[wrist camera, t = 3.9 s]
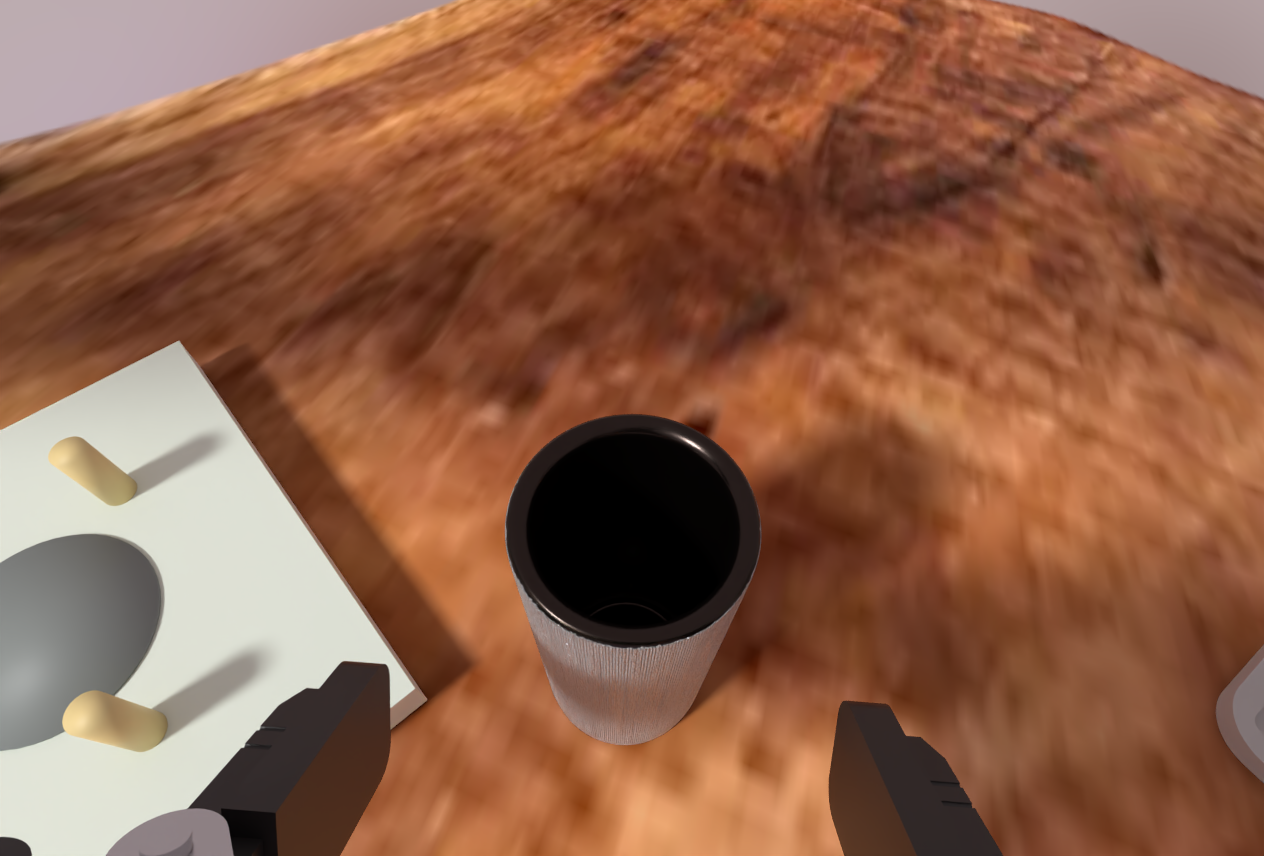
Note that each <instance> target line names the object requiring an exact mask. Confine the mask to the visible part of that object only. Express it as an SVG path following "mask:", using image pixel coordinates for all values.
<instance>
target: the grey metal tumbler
mask: <svg viewBox="0 0 1264 856" xmlns="http://www.w3.org/2000/svg"><path fill="white" fill-rule="evenodd" d="M505 541H506V549H507V554H508V558H509V562H510V566H511V569H512V572H513V575H514V578H515V581H516V584H517V587H518V590H519V593H520V596H521V599H522V602H523V605H524V608H525V611H526V614H527V617H528V620H529V623H530V626H531V629H532V632H533V635H534V638H535V641H536V644H537V647H538V650H539V653H540V656H541V659H542V662H543V665H544V667H545V670H546V673H547V676H548V679H549V682H550V685H551V688H552V691H553V694H554V696H555V698H556V700H557V702H558V704H559V706H560V707H561V709H562V710H563V712H564V713H565V715H566V716H567V717H568V718H569V720H570V721H571V722H572V723H573V724H574V725H575V726H576V727H578V728H579V729H580V730H581V731H583V732H584V733H586V734H587V735H589V736H591V737H593V738H595V739H597V740H600V741H603V742H606V743H611V744H617V745H633V744H640V743H644V742H647V741H650V740H653V739H655V738H657V737H659V736H661V735H663V734H664V733H666V732H668V731H669V730H670V729H671V728H673V727H674V726H675V725H676V724H677V723H678V722H679V721H680V720H681V719H682V717H683V716H684V715H685V714H686V713H687V711H688V710H689V708H690V707H691V705H692V703H693V702H694V700H695V698H696V696H697V694H698V691H699V689H700V687H701V685H702V683H703V681H704V679H705V677H706V675H707V673H708V670H709V668H710V666H711V664H712V662H713V660H714V658H715V656H716V654H717V652H718V649H719V647H720V645H721V643H722V641H723V639H724V637H725V635H726V633H727V630H728V628H729V626H730V624H731V622H732V620H733V618H734V616H735V614H736V612H737V609H738V607H739V605H740V603H741V601H742V599H743V597H744V595H745V593H746V590H747V588H748V586H749V584H750V582H751V579H752V577H753V574H754V572H755V569H756V566H757V562H758V558H759V553H760V548H761V520H760V514H759V509H758V505H757V502H756V499H755V496H754V493H753V491H752V489H751V486H750V484H749V482H748V480H747V479H746V477H745V475H744V474H743V472H742V470H741V469H740V468H739V466H738V465H737V464H736V462H735V461H734V460H733V459H732V458H731V457H730V455H729V454H728V453H727V452H726V451H725V450H724V449H722V448H721V447H720V446H719V445H718V444H717V443H715V442H714V441H713V440H711V439H710V438H708V437H707V436H705V435H704V434H702V433H701V432H699V431H697V430H695V429H693V428H691V427H689V426H687V425H684V424H682V423H679V422H676V421H673V420H670V419H667V418H662V417H658V416H651V415H642V414H621V415H612V416H606V417H601V418H597V419H594V420H590V421H587V422H585V423H582V424H579V425H577V426H575V427H573V428H571V429H569V430H567V431H565V432H563V433H562V434H560V435H559V436H557V437H556V438H554V439H553V440H552V441H550V442H549V443H548V444H546V445H545V446H544V447H543V448H542V449H541V450H540V451H539V452H538V453H537V454H536V455H535V456H534V457H533V458H532V460H531V461H530V462H529V463H528V465H527V466H526V467H525V469H524V470H523V472H522V474H521V475H520V477H519V479H518V481H517V483H516V485H515V487H514V489H513V492H512V494H511V497H510V500H509V504H508V508H507V513H506V521H505Z"/></svg>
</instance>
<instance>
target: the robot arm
mask: <svg viewBox="0 0 1264 856" xmlns="http://www.w3.org/2000/svg"><path fill="white" fill-rule="evenodd" d="M390 743H391V727H390V673H389V668H388V666H387V665H386V664H379V663H366V662H353V661H343V662H341V663H340V664H339V665H338V666H337V667H336V669H335V670H334V671H333V672H332V673H331V675H330V676H329V677H328V678H327V680H326V681H325V682H324V683H323V684H322V686H321V687H320V688H319V689H315V688H306V689H304V690H302V691H301V692H299V693H297V694H296V695H294V696H293V697H291V698H289V699H288V700H286V701H284V702H283V703H281V704H280V705H278V707H277V708H276V709H275V710H274V711H273V712H272V713H271V714H270V716H269V717H268V718H267V719H266V720H265V721H264V722H263V724H262V725H261V726H260V730H256V731H255V733H254V734H253V735H252V736H251V737H250V738H249V739H248V740H247V742H246V743H245V746H244V748H240V750H239V751H238V752H237V753H236V754H235V755H234V756H233V757H232V759H231V760H230V761H229V762H228V763H227V764H226V765H225V767H224V768H223V769H222V770H221V771H220V772H219V773H218V774H217V776H216V777H215V778H214V779H213V780H212V781H211V782H210V784H209V785H208V786H207V787H206V788H205V789H204V790H203V791H202V793H201V794H200V795H199V796H198V797H197V798H196V799H195V801H194V802H193V803H192V804H191V805H190V806H189V807H188V808H187V809H183V810H177V811H173V812H169V813H166V814H163V815H160V816H157V817H155V818H153V819H150V820H148V821H146V822H144V823H142V824H141V825H139V826H137V827H135V828H134V829H132V830H131V831H130V832H128V833H127V834H125V835H124V836H123V837H122V838H121V839H119V840H118V841H117V842H116V843H115V844H114V845H113V846H112V848H111V849H110V850H109V851H108V853H107V854H106V856H340V855H341V853H342V851H343V849H344V847H345V846H346V844H347V842H348V840H349V838H350V836H351V835H352V833H353V831H354V829H355V827H356V826H357V824H358V822H359V820H360V818H361V816H362V815H363V813H364V811H365V809H366V807H367V805H368V804H369V802H370V800H371V798H372V796H373V794H374V793H375V791H376V789H377V787H378V785H379V783H380V782H381V780H382V777H383V775H384V772H385V769H386V766H387V762H388V758H389V752H390ZM829 803H830V810H831V815H832V819H833V822H834V825H835V828H836V831H837V834H838V837H839V840H840V844H841V847H842V850H843V853H844V856H1003V855H1002V853H1001V851H1000V850H999V848H998V846H997V845H996V843H995V841H994V840H993V838H992V836H991V835H990V833H989V831H988V830H987V828H986V826H985V825H984V823H983V821H982V820H981V818H980V816H979V815H978V813H977V811H976V810H975V808H972V803H971V801H970V799H969V798H968V796H967V794H966V793H965V791H964V789H963V788H960V783H959V781H958V779H957V778H956V776H955V774H954V773H953V771H952V769H951V768H950V766H949V764H948V763H947V761H946V759H945V758H944V757H943V756H941V755H940V754H939V753H938V752H937V751H936V750H935V749H933V748H932V747H931V746H930V745H929V744H928V743H927V742H925V741H924V740H923V739H922V738H921V737H912V736H905V734H904V732H903V730H902V728H901V726H900V724H899V723H898V721H897V719H896V717H895V715H894V713H893V712H892V710H891V708H890V707H889V706H888V705H887V704H881V703H868V702H855V701H843V702H842V703H841V705H840V708H839V712H838V719H837V726H836V733H835V740H834V747H833V754H832V761H831V768H830V775H829ZM0 856H32V852H31V848H30V847H29V846H28V844H27V843H25V842H24V841H22V840H20V839H17V838H12V837H0Z"/></svg>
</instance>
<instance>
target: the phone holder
mask: <svg viewBox="0 0 1264 856" xmlns="http://www.w3.org/2000/svg"><path fill="white" fill-rule="evenodd" d="M1216 719H1217V724H1218V727H1219V730H1220V732H1221V735H1222V737H1223V739H1224V741H1225V742H1226V744H1227V746H1228V747H1229V748H1230V750H1231V751H1232V753H1233V754H1234V755H1235V756H1236V757H1237V758H1238V759H1239V760H1240V761H1241V763H1242V764H1244V765H1245V766H1246V767H1247V768H1248V769H1249V770H1250V771H1251V772H1252V773H1253V774H1254V775H1255V776H1256V777H1257V778H1258V779H1259V780H1261V781H1262V782H1263V783H1264V645H1263V646H1262V647H1261V648H1260V649H1259V650H1258V651H1257V653H1256V654H1255V655H1254V656H1253V657H1252V658H1251V659H1250V661H1249V662H1248V663H1247V664H1246V665H1245V666H1244V667H1243V669H1242V670H1241V671H1240V672H1239V673H1238V674H1237V675H1236V677H1235V678H1234V679H1233V680H1232V681H1231V682H1230V683H1229V684H1228V686H1227V687H1226V688H1225V689H1224V690H1223V691H1222V693H1221V694H1220V696H1219V698H1218V700H1217V704H1216Z"/></svg>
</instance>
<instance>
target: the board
mask: <svg viewBox="0 0 1264 856" xmlns="http://www.w3.org/2000/svg"><path fill="white" fill-rule="evenodd" d="M343 661H353V662H366V663H379V664H386V665H387V666H388V668H389V673H390V727H391V729H392V728H393V727H395V726H396V725H397V724H398V723H400V722H401V721H402V720H403V719H405V718H406V717H407V716H408V715H410V714H411V713H412V712H413V711H415V710H416V709H417V708H418V707H420V706H421V705H422V704H423V703H425V702H426V701H427V698H426V697H425V695H424V694H423V692H422V691H421V689H420V688H419V687H418V685H417V684H416V682H415V681H414V679H413V678H412V676H411V675H410V673H409V672H408V670H407V669H406V667H405V666H404V665H403V663H402V662H401V660H400V659H399V657H398V656H397V654H396V653H395V651H394V650H393V648H392V647H391V646H390V644H389V643H388V641H387V640H386V638H385V637H384V635H383V634H382V632H381V631H380V629H379V628H378V626H377V625H376V624H375V622H374V621H373V619H372V618H371V616H370V615H369V613H368V612H367V610H366V609H365V607H364V606H363V605H362V603H361V602H360V600H359V599H358V597H357V596H356V594H355V593H354V591H353V590H352V588H351V587H350V585H349V584H348V583H347V581H346V580H345V578H344V577H343V575H342V574H341V572H340V571H339V569H338V568H337V566H336V565H335V563H334V562H333V561H332V559H331V558H330V556H329V555H328V553H327V552H326V550H325V549H324V547H323V546H322V544H321V543H320V542H319V540H318V539H317V537H316V536H315V534H314V533H313V531H312V530H311V528H310V527H309V525H308V524H307V522H306V521H305V520H304V518H303V517H302V515H301V514H300V512H299V511H298V509H297V508H296V506H295V505H294V503H293V502H292V501H291V499H290V498H289V496H288V495H287V493H286V492H285V490H284V489H283V487H282V486H281V484H280V483H279V481H278V480H277V479H276V477H275V476H274V474H273V473H272V471H271V470H270V468H269V467H268V465H267V464H266V462H265V461H264V459H263V458H262V457H261V455H260V454H259V452H258V451H257V449H256V448H255V446H254V445H253V443H252V442H251V440H250V439H249V438H248V436H247V435H246V433H245V432H244V430H243V429H242V427H241V426H240V424H239V423H238V421H237V420H236V418H235V417H234V416H233V414H232V413H231V411H230V410H229V408H228V407H227V405H226V404H225V402H224V401H223V399H222V398H221V397H220V395H219V394H218V392H217V391H216V389H215V388H214V386H213V385H212V383H211V382H210V380H209V379H208V377H207V376H206V375H205V373H204V372H203V370H202V369H201V367H200V366H199V365H198V363H197V362H196V361H195V360H194V358H193V357H192V356H191V355H190V354H189V352H188V351H187V350H186V349H185V347H184V346H183V345H182V344H181V343H180V341H177V342H175V343H173V344H171V345H169V346H167V347H165V348H163V349H161V350H159V351H157V352H155V353H153V354H151V355H149V356H147V357H145V358H143V359H141V360H139V361H137V362H135V363H133V364H131V365H129V366H127V367H125V368H123V369H121V370H119V371H117V372H116V373H114V374H112V375H110V376H108V377H106V378H104V379H102V380H100V381H98V382H96V383H94V384H92V385H90V386H88V387H86V388H84V389H82V390H80V391H78V392H76V393H74V394H72V395H70V396H68V397H66V398H64V399H62V400H60V401H58V402H56V403H54V404H52V405H50V406H48V407H46V408H44V409H42V410H40V411H38V412H36V413H34V414H32V415H30V416H28V417H26V418H24V419H22V420H20V421H18V422H16V423H14V424H12V425H10V426H8V427H6V428H4V429H2V430H0V837H12V838H17V839H20V840H22V841H24V842H25V843H27V844H28V846H29V847H30V848H31V852H32V856H106V854H107V853H108V851H109V850H110V849H111V848H112V846H113V845H114V844H115V843H116V842H117V841H118V840H119V839H121V838H122V837H123V836H124V835H125V834H127V833H128V832H130V831H131V830H132V829H134V828H135V827H137V826H139V825H141V824H142V823H144V822H146V821H148V820H150V819H153V818H155V817H157V816H160V815H163V814H166V813H169V812H173V811H177V810H183V809H187V808H188V807H189V806H190V805H191V804H192V803H193V802H194V801H195V799H196V798H197V797H198V796H199V795H200V794H201V793H202V791H203V790H204V789H205V788H206V787H207V786H208V785H209V784H210V782H211V781H212V780H213V779H214V778H215V777H216V776H217V774H218V773H219V772H220V771H221V770H222V769H223V768H224V767H225V765H226V764H227V763H228V762H229V761H230V760H231V759H232V757H233V756H234V755H235V754H236V753H237V752H238V751H239V750H240V748H244V746H245V743H246V742H247V740H248V739H249V738H250V737H251V736H252V735H253V734H254V733H255V731H256V730H260V726H261V725H262V724H263V722H264V721H265V720H266V719H267V718H268V717H269V716H270V714H271V713H272V712H273V711H274V710H275V709H276V708H277V707H278V705H280V704H281V703H283V702H284V701H286V700H288V699H289V698H291V697H293V696H294V695H296V694H297V693H299V692H301V691H302V690H304V689H306V688H315V689H319V688H320V687H321V686H322V684H323V683H324V682H325V681H326V680H327V678H328V677H329V676H330V675H331V673H332V672H333V671H334V670H335V669H336V667H337V666H338V665H339V664H340V663H341V662H343Z"/></svg>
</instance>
